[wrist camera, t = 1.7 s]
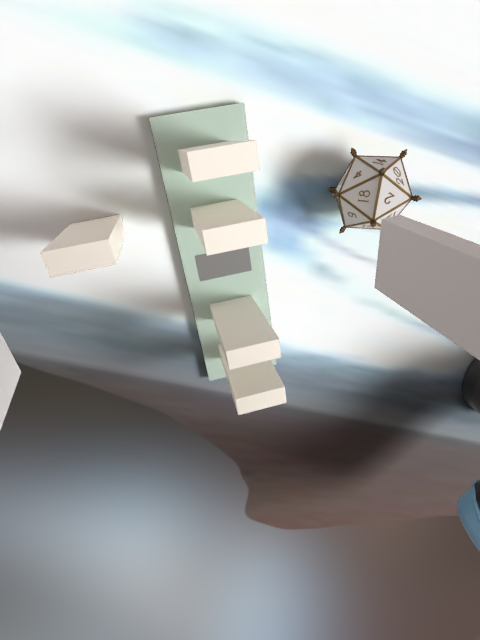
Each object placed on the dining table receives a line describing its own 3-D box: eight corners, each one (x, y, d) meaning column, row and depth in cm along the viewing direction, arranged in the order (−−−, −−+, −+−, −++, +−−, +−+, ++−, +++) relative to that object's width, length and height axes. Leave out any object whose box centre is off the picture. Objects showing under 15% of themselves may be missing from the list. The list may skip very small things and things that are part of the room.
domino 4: (253, 310, 44) (281, 357, 34) (212, 319, 44) (229, 369, 34) (251, 295, 43) (279, 338, 34) (209, 304, 43) (225, 351, 33)
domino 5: (258, 348, 47) (286, 402, 37) (220, 358, 46) (238, 415, 36) (256, 335, 46) (284, 386, 36) (217, 344, 45) (235, 399, 35)
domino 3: (239, 218, 39) (268, 243, 29) (193, 227, 39) (207, 255, 29) (237, 199, 38) (265, 218, 29) (189, 208, 38) (202, 230, 28)
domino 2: (231, 163, 37) (259, 170, 27) (182, 171, 36) (192, 182, 26) (228, 141, 36) (256, 140, 26) (177, 149, 35) (186, 152, 25)
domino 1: (126, 233, 38) (116, 264, 29) (77, 243, 38) (50, 277, 28) (120, 214, 38) (108, 239, 28) (70, 223, 37) (40, 252, 27)
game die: (327, 175, 44) (339, 120, 34) (401, 178, 43) (436, 122, 33) (321, 248, 43) (332, 213, 33) (397, 252, 42) (431, 218, 32)
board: (274, 360, 49) (276, 364, 48) (208, 376, 48) (209, 381, 47) (241, 103, 35) (244, 102, 35) (148, 118, 34) (148, 117, 33)
